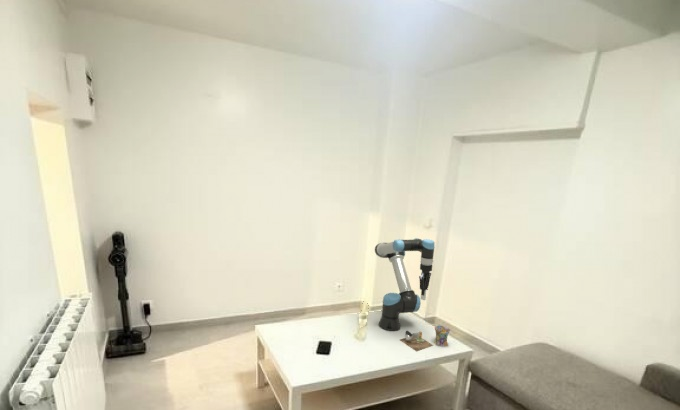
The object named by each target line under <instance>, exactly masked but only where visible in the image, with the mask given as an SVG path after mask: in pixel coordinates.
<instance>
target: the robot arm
mask: <svg viewBox="0 0 680 410" xmlns="http://www.w3.org/2000/svg"><path fill="white" fill-rule="evenodd" d="M406 252H419V253H421V255H420V261H419V262H420V265H419V270H420V271H421V275H419V276H418V278H419V290H420V296H419V295H418V294H416V293H415V290H413V289H412V287H411V284H410V283H411V282H410V280H409V276H408V274H407V273H408V272H407V269H406V266H405V263H404V258H405V256H406ZM374 253H375V255H376V256H377V257H378V258H381V259H388V261H389V262H390V263H391V265H392V269H393V273H394V276H395V279H396V284H397V287H398V292H397V293H396V292H388V293H386V294H384V296H383V298H382V306H381V307H382V309H381V317H380V320H379V321H378V327H379V328H380V329H381V330H383V331H385V332H397V331H400V330H401V328H402V325H401V321H400V314H406V313H407V314H408V313H416V312H418V311H420V308H421V300H422V301H426V300H427V299H426V298H427V296H426V295H427V291H428V290H429V286H430V281H431V277H432V271H433V264H434V253H435V241H434V240H432V239H426V238H425V239H423V240H422V239H420V238H418V237H415V238H413V239H394V240H393V241H391V242H379V243H377V244H376V245H375V247H374Z"/></svg>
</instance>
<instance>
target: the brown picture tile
mask: <svg viewBox="0 0 680 410" xmlns="http://www.w3.org/2000/svg"><path fill="white" fill-rule="evenodd" d="M399 341H400V342H402V343H403V344H405V345H406V346H407V347H409V348H410V349H412V350H413V351H415V352H419V351H421V350H425V349H428V348H430V347H433V346H434V344H432V343H430V342H429V341H427V340H426V339H424V338H423V337H422V338H421V339H417V340H413V341H411V342H406V341H405V337H404V338H400V339H399Z"/></svg>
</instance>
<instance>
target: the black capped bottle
mask: <svg viewBox="0 0 680 410" xmlns="http://www.w3.org/2000/svg"><path fill="white" fill-rule="evenodd" d="M422 335H423V333H422V331H416V332H414V333H413V332H410V331H409V330H406V331H405V337H404V338H405V341H406V342H411V341H413V340H417V339H421V338H422V339H423V337H422Z"/></svg>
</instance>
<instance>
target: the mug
mask: <svg viewBox="0 0 680 410" xmlns="http://www.w3.org/2000/svg"><path fill="white" fill-rule="evenodd" d="M434 330H435V339H434V341H433V343H434V344H435V345H436V346H438V347H442V348H446V347H447V346H449V343H448V335H449V334H450V332H451V330H450V328H449V327H447V326H444V325H435V326H434Z"/></svg>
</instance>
